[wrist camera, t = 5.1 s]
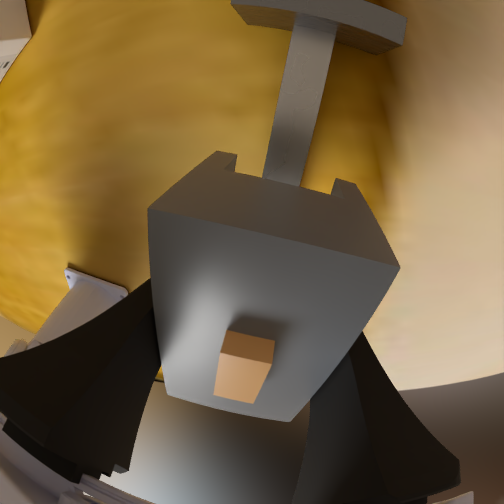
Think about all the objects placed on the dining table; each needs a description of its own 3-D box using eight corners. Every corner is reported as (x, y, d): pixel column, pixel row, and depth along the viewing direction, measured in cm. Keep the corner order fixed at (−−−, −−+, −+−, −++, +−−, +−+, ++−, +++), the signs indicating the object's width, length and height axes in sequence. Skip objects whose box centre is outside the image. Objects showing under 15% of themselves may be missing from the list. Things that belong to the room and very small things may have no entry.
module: (295, 332, 13) (288, 436, 9) (200, 310, 13) (161, 408, 9) (355, 183, 9) (410, 290, 4) (216, 150, 9) (129, 224, 4)
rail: (309, 275, 19) (309, 317, 16) (211, 252, 19) (193, 290, 16) (380, 33, 9) (407, 17, 6) (252, 2, 10) (237, -24, 6)
